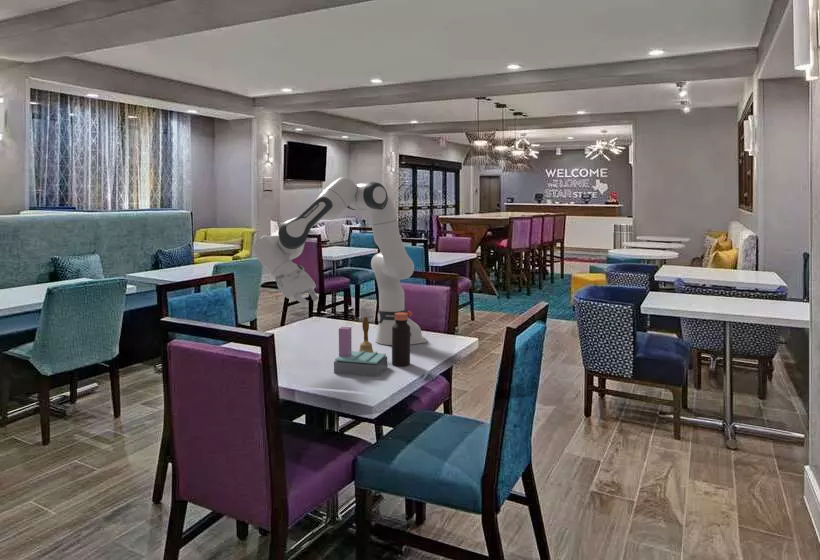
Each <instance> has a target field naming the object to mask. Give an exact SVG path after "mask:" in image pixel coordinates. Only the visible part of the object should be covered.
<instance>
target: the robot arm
mask: <svg viewBox="0 0 820 560" xmlns="http://www.w3.org/2000/svg"><path fill="white" fill-rule="evenodd" d="M347 208H348V209H349V210H351V211H356V210H357V211H368V213H369V215H370V223H371V228H372V229H371V230H372V234H373V240H374V243H375V244H376V246H377V247H378V248H379V251H380V252H378V253H376V254H374V255H373V256H372V258H371V262H370V267H371V270H372V271H373V272H374V276H375V280H376V284H377V288H378V289H377V290H378V306H379V307H378V311H377V322H378V326H377V333H376V337H375V340H374V341H375V342H376V343H377V344H381V345H387V346H392V326H393V325H394V324H395V323H396V321H395V313H398V312H404V313H408V321H407V324H408V325H409V326H410V346H411V345H417V344H424V343H425V344H426V343H427V341H428V340H427V338H426V336H424V335H422V330H421V327H420V326H419V324H417V323H416V322H414V321H413V320H412V319H411V318H409V317H411V316H412V315H413V312H412V311H410V310H407V309H406V308H405V293H406V292H405V291H404V288H403V287H402V285H401V280H406V279H409V278H410V277H411V276H413V274H414V270H415V263H414V261H413V260H412V259H411V257H410V256H409V255H408V252H407V250H406V248H405V246H404V245H405V244H404V242H403V241H402V238H401V235H400V229H399V223H398V217H397V214H396V209H395V207H394V204H393V201H392V199H391V197H389V195H388V192H387V190H386V188H385V186H384V185H383V184H381V183H379V182H377V181H371V182H369V181H367V182H366V181H364V182H358V183H355V181H354V180H352V179H351V178H349V177H346V176H340V177H339V178H337V179H336V180H334V181H333V182H331V183H330V184H329V185H328V186H327V187H325V188H324V189H323V190H322V192H320V193H319V195H318V196H317V197H316V199H315V200H314V201H313V202H312V203H311V204H309V206H307V208H306V209H304V210H303V211H302V212H301V213H300V214H299V215H297V216H295V217H294V218H291V219H287V220H286V221H284V222H283V223H282V224H281V225H280V227H279V228H278V229H279V230H278V234H276V235H266V234H265V235H262V236H261V237H260V238H258V239H257V240H256V242H255V244H254V245H253V249H252V250H253V254H254V255H255V257H256V259H257V260H258V261H259V263H260V264H261V265H262V267H264V268H265V269H266V270H268V271H269V273H270V275H271V276H272V278H274V279H275V282H276V286H277V288H278V289H279V290H280V292H281V294H282V295H283V296H284V297H285V298H286V299H289V300H290V299H294V300H295V301H297V302H299V303H300V304H301V305H302V306H306V305H307V304H308V303H309V301H308V300H307V298H304V297H303V296H302V295H306V294H308V295H309V296H310V297H311V300H312V301H313V302H317V301H318V300H319V296H318V295H317V293H316V291H315V288H316V287H317V285H316V283H315V281H314V280H313V278H312V277H311V275H309V274H308V272H306V271H305V268H304V267H303V265H300V264H297V263H295V262H293V260H295V259H297V258H298V257H300V256H301V255H302V254H303V251H304V248H305V243H306V241H307V239H308V236H309V232H310V231H311V229H312V228H313V227H314V226H315V225H316V224H317V223H318V222H320V221H321V220H322V219H324V220H329V221H331V220H334V219H336V218H337V217H339V216H340V215H341V214H342V213H343V212H344V211H345V210H346V209H347Z"/></svg>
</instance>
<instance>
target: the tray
mask: <svg viewBox="0 0 820 560" xmlns="http://www.w3.org/2000/svg"><path fill="white" fill-rule="evenodd" d="M387 368H388V356H387V355H386V356H385V357H384V358H383V359H382V360H380V361H379V362H378V363H377V364H364V363H351V362H346V361H335V360H334V361H333V374H340V375H341V374H342V375H352V376H353V375H354V376H365V377H375V378H376V377H377V378H378V377H379V376H380V375H381V374H382V373H383V372H385V370H386V369H387Z"/></svg>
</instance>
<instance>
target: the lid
mask: <svg viewBox="0 0 820 560" xmlns="http://www.w3.org/2000/svg"><path fill="white" fill-rule="evenodd" d="M352 348H353V347H352V327H351V326H350V327H349V326H341V327H339V328H338V356H337V357H336V358H335V359H334V361H346V362H358V363H371V364H377V363H378V362H379V361H380V360H382V359H383V358H384V357H385V356H387V354H386V353H378V351H375V352H374V353H368V352H364V351H362V352H359V351H354V350H353V351H352Z"/></svg>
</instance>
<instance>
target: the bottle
mask: <svg viewBox="0 0 820 560" xmlns="http://www.w3.org/2000/svg"><path fill="white" fill-rule="evenodd" d="M408 318H409V317H408V313H404V312H398V313H395V321H396V323H395V324H394V325H393V326H392V345H391V366H393V367H398V368H399V367H400V368H404V367H409V366H410V365H411V345H410V326H409V325H408V324H407V321H408Z"/></svg>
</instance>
